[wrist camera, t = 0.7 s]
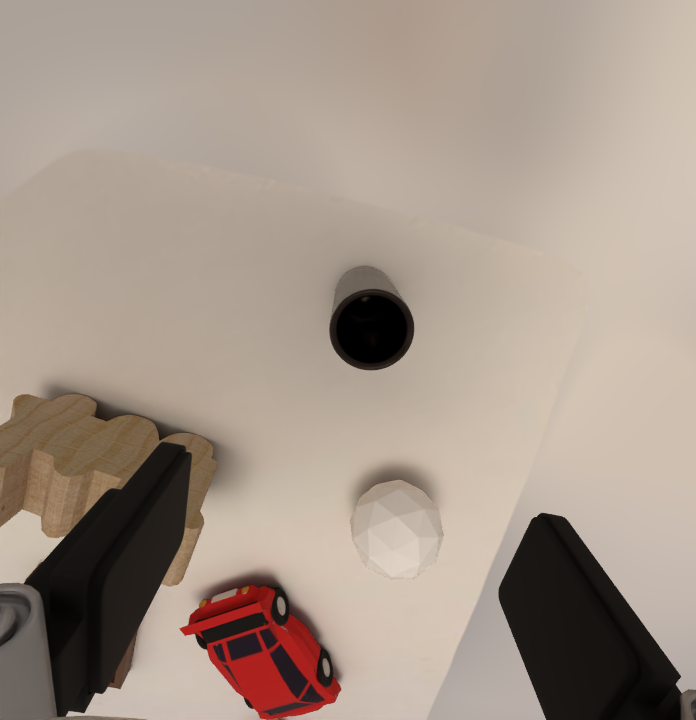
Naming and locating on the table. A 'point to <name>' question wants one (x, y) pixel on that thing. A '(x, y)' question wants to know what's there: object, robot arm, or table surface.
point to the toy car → (264, 652)
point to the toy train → (87, 465)
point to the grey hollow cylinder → (369, 320)
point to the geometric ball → (396, 530)
